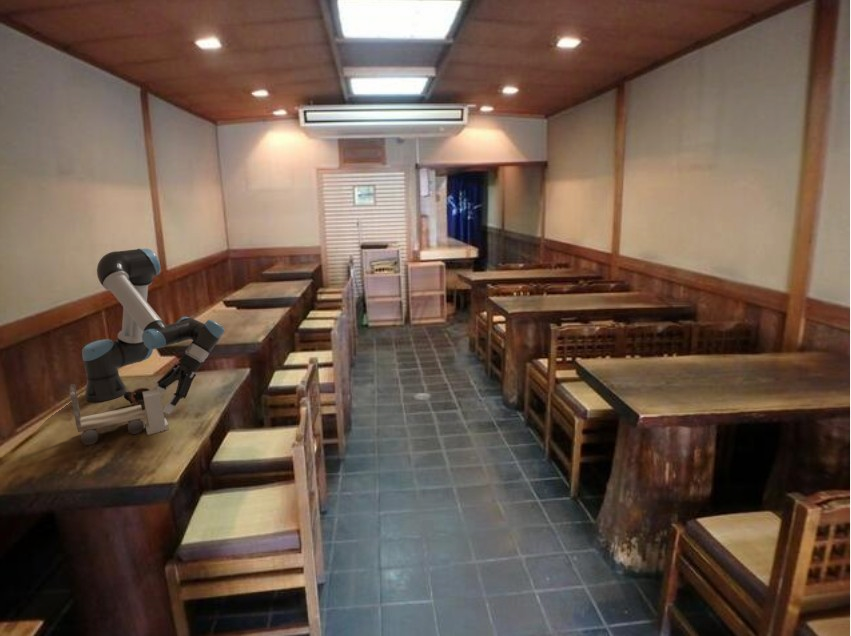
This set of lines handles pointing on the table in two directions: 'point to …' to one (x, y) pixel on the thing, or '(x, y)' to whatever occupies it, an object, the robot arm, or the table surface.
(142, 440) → the table surface
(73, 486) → the table surface
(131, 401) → the broken clay pot
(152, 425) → the grey pillar on base
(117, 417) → the trolley
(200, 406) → the table surface
